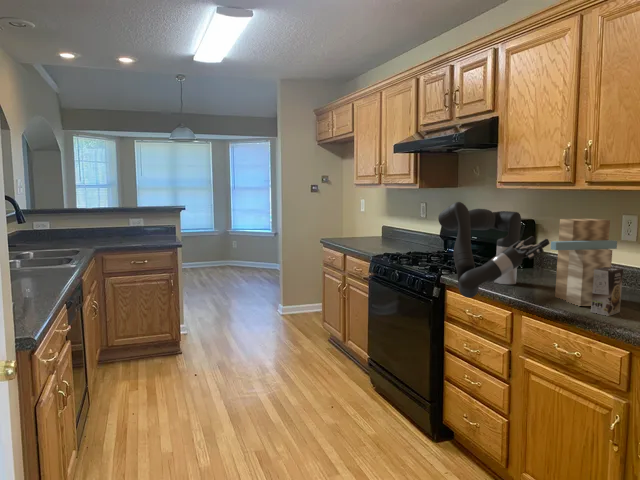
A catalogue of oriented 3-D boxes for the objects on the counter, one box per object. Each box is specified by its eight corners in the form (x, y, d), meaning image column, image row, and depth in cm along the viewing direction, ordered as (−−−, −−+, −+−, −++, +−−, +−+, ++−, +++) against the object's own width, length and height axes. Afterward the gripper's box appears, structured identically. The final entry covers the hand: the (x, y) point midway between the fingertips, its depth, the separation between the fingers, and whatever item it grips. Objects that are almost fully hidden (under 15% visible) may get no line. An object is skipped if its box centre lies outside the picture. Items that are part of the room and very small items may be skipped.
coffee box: (609, 316, 172) (612, 271, 170) (590, 312, 177) (593, 268, 175) (620, 312, 177) (624, 268, 175) (602, 308, 182) (605, 266, 180)
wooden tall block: (568, 301, 192) (573, 220, 188) (555, 296, 200) (560, 219, 196) (604, 300, 195) (610, 220, 191) (589, 295, 203) (595, 218, 199)
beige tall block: (580, 307, 184) (584, 250, 182) (566, 301, 192) (569, 247, 190) (608, 305, 186) (612, 249, 184) (593, 300, 194) (596, 247, 192)
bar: (555, 250, 182) (556, 242, 182) (550, 249, 185) (551, 241, 185) (616, 248, 187) (617, 241, 187) (610, 247, 190) (611, 240, 190)
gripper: (512, 256, 173) (549, 232, 175) (491, 250, 187) (525, 228, 189) (520, 274, 175) (557, 250, 176) (499, 267, 189) (533, 245, 190)
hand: (540, 239), depth 182 cm, fingers open, 8 cm apart
